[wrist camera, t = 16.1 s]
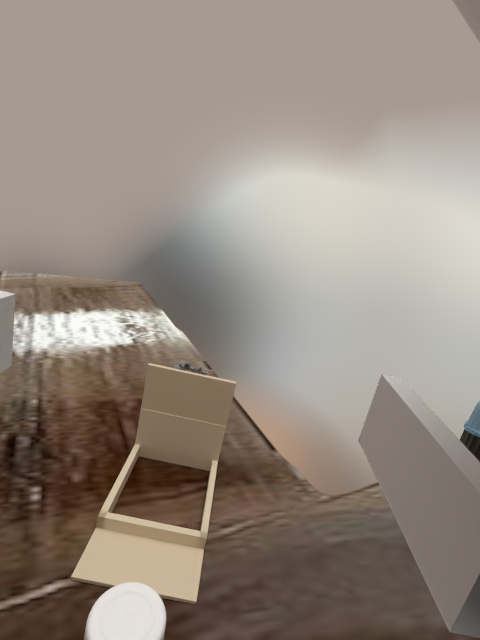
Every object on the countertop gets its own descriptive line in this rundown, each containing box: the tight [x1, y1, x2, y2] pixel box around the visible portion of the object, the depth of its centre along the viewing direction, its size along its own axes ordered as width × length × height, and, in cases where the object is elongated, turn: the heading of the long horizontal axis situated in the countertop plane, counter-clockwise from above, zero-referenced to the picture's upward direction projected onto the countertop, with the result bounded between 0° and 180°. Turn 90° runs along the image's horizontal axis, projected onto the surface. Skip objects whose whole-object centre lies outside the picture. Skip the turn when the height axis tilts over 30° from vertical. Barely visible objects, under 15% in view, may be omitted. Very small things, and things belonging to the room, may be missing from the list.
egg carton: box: [172, 360, 208, 375], centre depth 80 cm, size 11×8×4 cm
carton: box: [71, 363, 236, 605], centre depth 44 cm, size 21×13×15 cm, turn 178°
